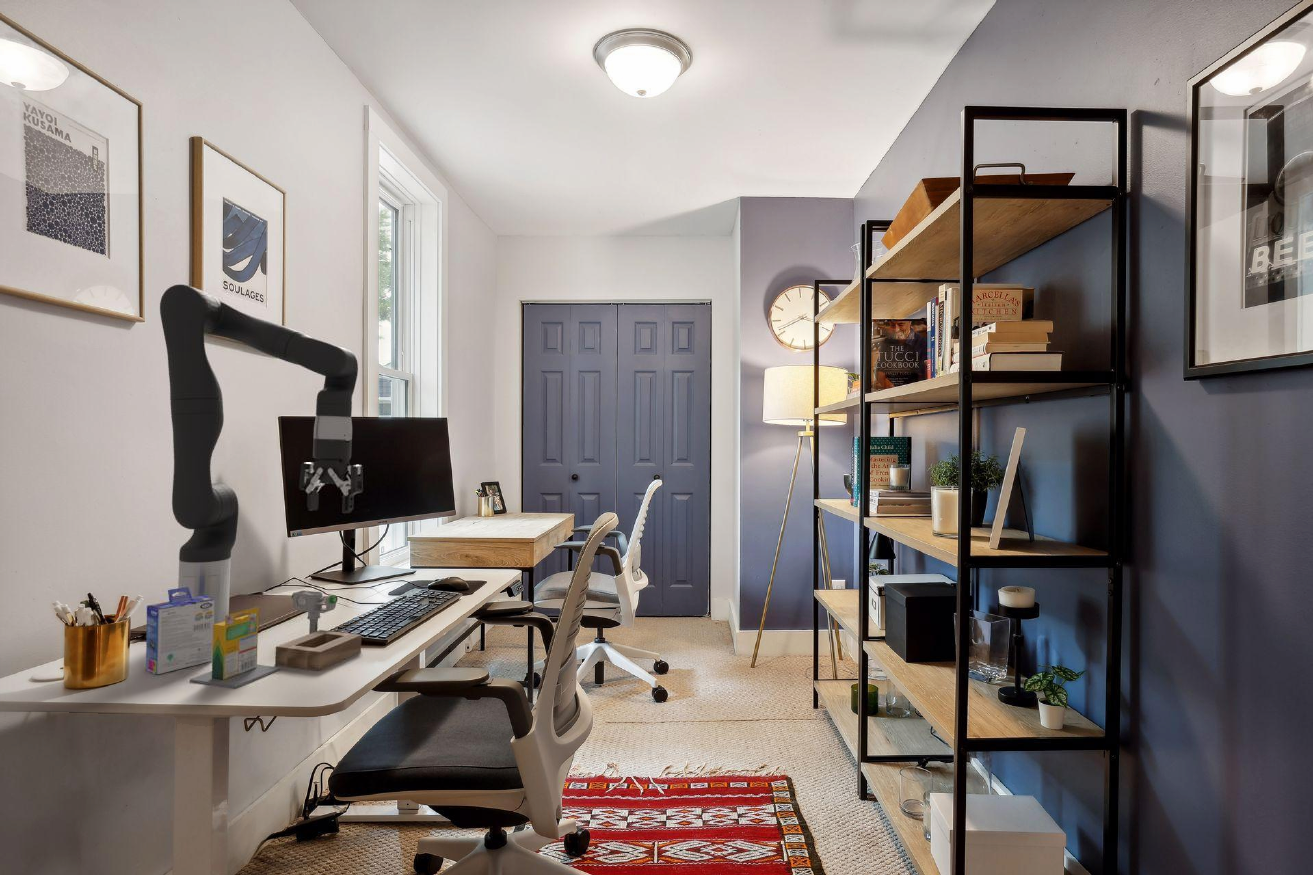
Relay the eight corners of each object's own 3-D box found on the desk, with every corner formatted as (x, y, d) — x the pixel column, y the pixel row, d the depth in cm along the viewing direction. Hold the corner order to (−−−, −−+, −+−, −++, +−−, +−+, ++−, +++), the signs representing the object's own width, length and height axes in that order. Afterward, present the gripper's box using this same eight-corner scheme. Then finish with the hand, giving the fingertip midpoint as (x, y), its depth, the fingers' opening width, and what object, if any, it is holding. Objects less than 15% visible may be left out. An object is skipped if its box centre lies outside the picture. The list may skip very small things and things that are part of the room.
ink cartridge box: (200, 655, 133) (203, 583, 133) (215, 661, 130) (218, 587, 130) (142, 669, 124) (145, 591, 124) (156, 675, 122) (160, 596, 122)
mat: (189, 681, 119) (189, 679, 119) (236, 663, 129) (236, 661, 129) (236, 688, 117) (236, 685, 117) (280, 669, 127) (280, 667, 127)
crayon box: (245, 665, 127) (247, 604, 127) (257, 667, 126) (260, 606, 126) (210, 678, 120) (212, 613, 120) (223, 680, 119) (226, 615, 119)
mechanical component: (328, 642, 144) (330, 596, 144) (287, 638, 146) (289, 592, 146) (338, 639, 147) (339, 593, 147) (297, 634, 149) (299, 589, 149)
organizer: (275, 664, 129) (275, 646, 129) (319, 646, 141) (320, 629, 141) (319, 670, 127) (320, 652, 127) (360, 651, 139) (361, 634, 139)
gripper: (292, 436, 144) (289, 511, 144) (349, 438, 140) (346, 515, 140) (317, 436, 151) (314, 508, 151) (372, 438, 148) (369, 511, 148)
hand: (329, 511), depth 146 cm, fingers open, 8 cm apart
